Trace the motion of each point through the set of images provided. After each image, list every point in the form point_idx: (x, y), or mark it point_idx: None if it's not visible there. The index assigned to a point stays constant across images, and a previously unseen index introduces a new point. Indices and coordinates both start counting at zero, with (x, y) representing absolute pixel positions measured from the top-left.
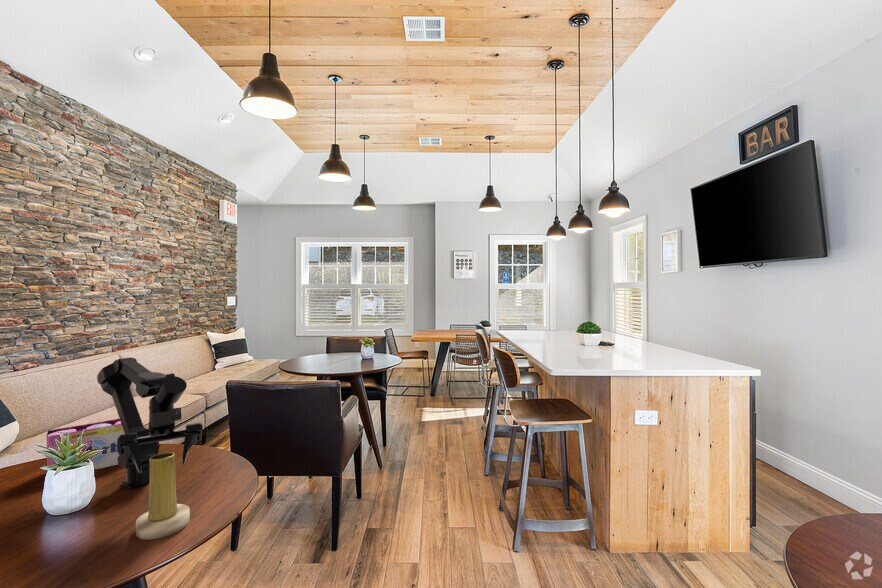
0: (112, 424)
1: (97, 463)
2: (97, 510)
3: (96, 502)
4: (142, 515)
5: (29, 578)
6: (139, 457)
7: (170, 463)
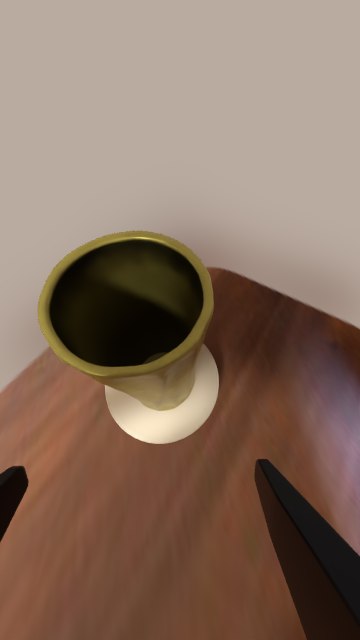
0: None
1: None
2: None
3: None
4: (208, 408)
5: (338, 321)
6: (348, 599)
7: (103, 274)
